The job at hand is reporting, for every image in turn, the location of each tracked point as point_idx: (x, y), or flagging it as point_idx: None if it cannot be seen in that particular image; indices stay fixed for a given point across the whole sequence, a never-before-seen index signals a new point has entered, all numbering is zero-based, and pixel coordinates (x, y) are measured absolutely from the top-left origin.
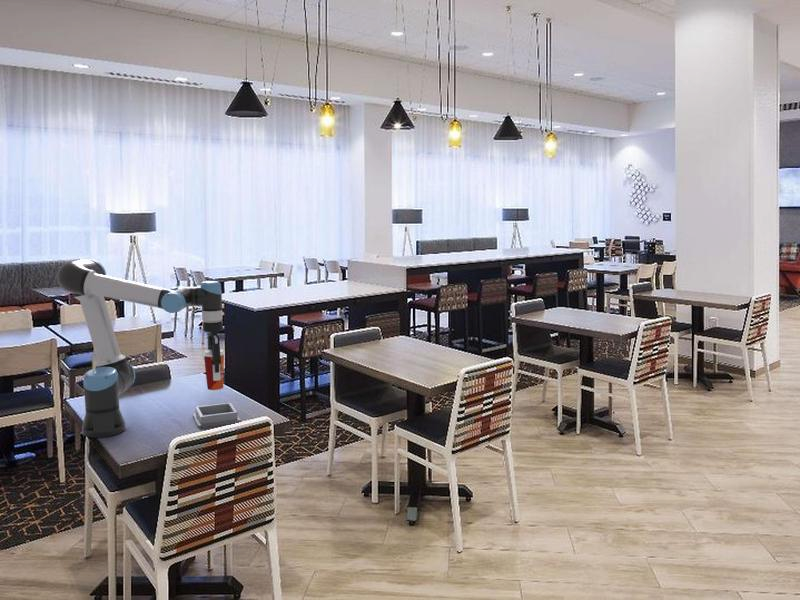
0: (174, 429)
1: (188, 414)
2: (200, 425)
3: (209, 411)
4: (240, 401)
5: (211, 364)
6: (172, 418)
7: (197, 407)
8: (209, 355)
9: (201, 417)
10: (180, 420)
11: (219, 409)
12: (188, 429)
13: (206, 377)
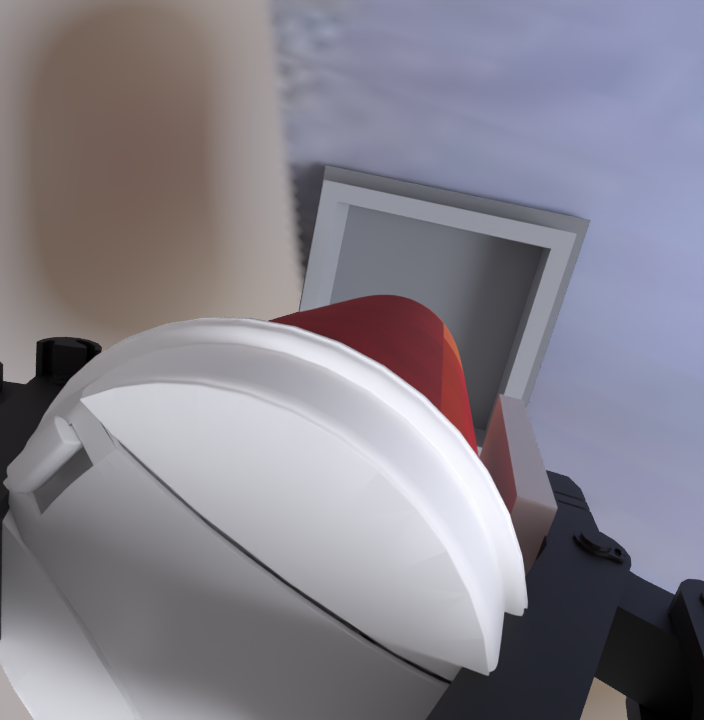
0: (394, 21)
1: (646, 207)
2: (323, 176)
3: (521, 319)
4: (664, 586)
5: (89, 342)
6: (640, 74)
7: (547, 240)
8: (63, 405)
9: (324, 186)
10: (551, 113)
11: (502, 381)
12: (342, 104)
13: (378, 301)
